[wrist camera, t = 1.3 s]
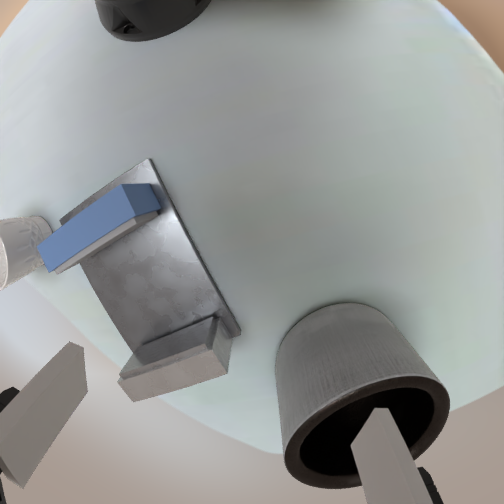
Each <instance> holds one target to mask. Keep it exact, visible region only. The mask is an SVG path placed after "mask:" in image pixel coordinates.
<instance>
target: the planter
mask: <svg viewBox="0 0 504 504" xmlns="http://www.w3.org/2000/svg"><path fill="white" fill-rule="evenodd" d="M275 378H276V387H277V396H278V404H279V414H280V423H281V433H282V444H283V456H284V463H285V466H286V468H287V470H288V472H289V473H290V474H291V475H292V476H293V477H294V478H295V479H297V480H298V481H300V482H302V483H304V484H307V485H309V486H313V487H318V488H325V489H342V488H351V487H357V486H362V482H361V479H360V475H359V472H358V469H357V465H356V462H355V459H354V455H353V452H352V449H351V446H350V445H351V444H352V442H353V441H354V439H355V438H356V436H357V435H358V433H359V432H360V430H361V429H362V427H363V426H364V424H365V423H366V421H367V420H368V418H369V417H370V415H371V413H372V412H373V410H374V408H388V409H389V411H390V413H391V415H392V417H393V419H394V421H395V423H396V425H397V427H398V429H399V431H400V433H401V435H402V437H403V439H404V441H405V443H406V445H407V448H408V450H409V452H410V454H411V456H412V458H413V460H415V459H417V458H418V457H419V456H420V455H421V454H422V453H424V452H425V451H426V450H427V449H428V448H429V447H430V445H431V444H432V443H433V442H434V441H435V439H436V438H437V437H438V435H439V434H440V432H441V431H442V429H443V427H444V425H445V423H446V420H447V418H448V414H449V409H450V398H449V394H448V392H447V390H446V388H445V387H444V385H443V384H442V383H441V382H440V380H439V379H438V378H437V377H436V375H435V374H434V373H433V372H432V371H431V369H430V368H429V367H428V366H427V364H426V363H425V362H424V361H423V359H422V358H421V357H420V356H419V355H418V353H417V352H416V351H415V350H414V348H413V347H412V346H411V345H410V344H409V342H408V341H407V340H406V339H405V337H404V336H403V335H402V334H401V333H400V331H399V330H398V329H397V328H396V327H395V325H394V324H393V323H392V322H391V321H390V320H389V319H388V318H387V317H386V316H385V315H384V314H382V313H381V312H379V311H378V310H376V309H374V308H372V307H370V306H367V305H363V304H357V303H342V304H335V305H331V306H328V307H324V308H322V309H319V310H317V311H315V312H313V313H311V314H309V315H308V316H306V317H305V318H303V319H302V320H301V321H300V322H298V323H297V324H296V325H295V326H294V327H293V328H292V329H291V330H290V331H289V332H288V334H287V335H286V336H285V338H284V339H283V341H282V343H281V345H280V347H279V350H278V353H277V357H276V363H275Z"/></svg>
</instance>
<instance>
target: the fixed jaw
mask: <svg viewBox="0 0 504 504" xmlns="http://www.w3.org/2000/svg"><path fill="white" fill-rule="evenodd" d="M232 340H233V338H232V336H231V334H230V333H229V331H228V329H227V328H226V326H225V324H224V323H223V321H222V319H221V317H219V318H217V319H215V318H214V317H210V318H208V319H206V320H203V321H201V322H199V323H196V324H194V325H191V326H189V327H187V328H184V329H182V330H179V331H177V332H175V333H172V334H170V335H167V336H165V337H162V338H160V339H157V340H155V341H152V342H150V343H147V344H145V345H142V346H140V347H137V348H136V350H135V351H134V353H133V354H132V356H131V357H130V359H129V360H128V362H127V363H126V365H125V366H124V367H123V369H122V370H121V372H120V374H119V375H120V376H121V377H120V379H119V380H118V384H119V385H120V386H121V387H122V389H123V390H124V391H125V393H126V394H127V395H128V396H129V398H130V399H131V400H132V401H133V402H136V401H140V400H143V399H147V398H151V397H155V396H158V395H162V394H165V393H169V392H172V391H175V390H179V389H182V388H185V387H189V386H192V385H195V384H198V383H201V382H204V381H207V380H210V379H213V378H216V377H219V376H222V375H225V374H227V373H228V366H229V360H230V353H231V347H232Z"/></svg>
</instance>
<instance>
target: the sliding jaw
mask: <svg viewBox="0 0 504 504" xmlns="http://www.w3.org/2000/svg"><path fill="white" fill-rule="evenodd" d="M159 209H161V206H160V204H159V202H158V200H157V198H156V196H155V194H154V192H153V190H152V188H151V186H150V184H149V183H137V184H120V185H119V186H117V187H116V188H114V189H113V190H111V191H110V192H108V193H107V194H105V195H104V196H102V197H101V198H99V199H98V200H97V201H95V202H94V203H92V204H91V205H89V206H88V207H87V208H85V209H84V210H83V211H81V212H80V213H78V214H77V215H76V216H74V217H73V218H72V219H70V220H69V221H68V222H67V223H65V224H64V225H63V226H61V227H60V228H59V229H58V230H56V231H55V232H54V233H52V234H51V235H50V236H49V237H48V238H46V239H45V240H44V241H43V242H41V243H40V244H39V245H38V246H37V249H38V251H39V253H40V255H41V257H42V259H43V262H44V264H45V266H46V268H47V270H48V272H51V271H53V270H55V272H56V274H59V273H61V272H63V271H65V270H67V269H69V268H71V267H73V266H75V265H77V264H79V263H81V262H83V261H85V260H86V259H88V258H90V257H91V256H93V255H94V254H96V253H97V252H99V251H101V250H102V249H104V248H105V247H107V246H109V245H110V244H112V243H113V242H115V241H117V240H118V239H120V238H122V237H123V236H125V235H127V234H128V233H130V232H132V231H133V230H135V229H137V228H138V227H140V226H142V225H144V224H145V223H147V222H149V221H150V220H152V219H154V218H156V217H157V216H158V214H157V212H156V211H157V210H159Z"/></svg>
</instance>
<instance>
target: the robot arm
mask: <svg viewBox="0 0 504 504" xmlns="http://www.w3.org/2000/svg"><path fill="white" fill-rule="evenodd" d="M210 1H211V0H95V3H96V7H97V10H98V14H99V18H100V21H101V23H102V25H103V26H104V28H105V29H106V30H107V31H108V32H109V33H111V34H112V35H113V36H114V37H116V38H118V39H121V40H125V41H132V42H139V41H148V40H153V39H157V38H160V37H163V36H166V35H168V34H171V33H173V32H175V31H177V30H179V29H181V28H183V27H184V26H186V25H187V24H189V23H190V22H192V21H193V20H194V19H195V18H197V17H198V16H199V15H200V14H201V13H202V12H203V11H204V10H205V8H206V7H207V6H208V4H209V3H210ZM87 392H88V390H87V381H86V372H85V361H84V348H83V347H81V346H79V345H76V344H74V343H72V342H69V343H68V344H66V345H65V347H63V348H62V350H60V351H59V353H57V354H56V355H55V356H54V357H53V358H52V359H51V360H50V361H49V362H48V363H47V364H46V365H45V366H44V367H43V368H42V369H41V370H40V371H39V372H38V374H36V375H35V377H34V378H33V379H32V380H31V381H30V382H29V383H28V384H27V385H26V386H25V387H24V388H23V389H22V390H21V391H19V390H17V389H16V388H14V387H11V388H9V389H7V390H4V391H3V392H2V393H1V394H0V474H1V472H3V473H4V474H5V476H6V477H7V479H9V480H10V481H12V482H13V483H14V484H16V485H17V486H19V487H20V488H22V489H23V488H24V487H25V485H26V483H27V481H28V480H29V479H30V477H31V475H32V474H33V472H34V471H35V469H36V467H37V466H38V464H39V463H40V461H41V460H42V458H43V456H44V455H45V453H46V452H47V450H48V449H49V447H50V446H51V444H52V443H53V441H54V440H55V438H56V437H57V435H58V434H59V432H60V431H61V430H62V428H63V427H64V425H65V424H66V422H67V421H68V419H69V418H70V416H71V415H72V413H73V412H74V411H75V409H76V408H77V406H78V405H79V404H80V402H81V401H82V399H83V398H84V396H85V395H86V394H87ZM350 446H351V449H352V452H353V455H354V459H355V462H356V465H357V469H358V472H359V475H360V479H361V482H362V486H363V489H364V492H365V496H366V500H367V503H368V504H443V501H442V499H441V497H440V495H439V493H438V492H437V488H436V486H435V485H434V482H433V480H432V478H431V476H430V474H429V473H428V472H427V471H426V470H425V469H424V468H423V467H419V468H417V467H416V465H415V462H414V460H413V458H412V456H411V454H410V452H409V450H408V448H407V445H406V443H405V441H404V439H403V437H402V435H401V433H400V431H399V429H398V427H397V425H396V423H395V421H394V419H393V417H392V415H391V413H390V411H389V409H388V408H374V410H373V412H372V413H371V415H370V417H369V418H368V420H367V421H366V423H365V424H364V426H363V427H362V429H361V430H360V432H359V433H358V435H357V436H356V438H355V439H354V441H353V442H352V444H351V445H350ZM0 504H6V500H5V496H4V492H3V487H2V482H1V479H0Z"/></svg>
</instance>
